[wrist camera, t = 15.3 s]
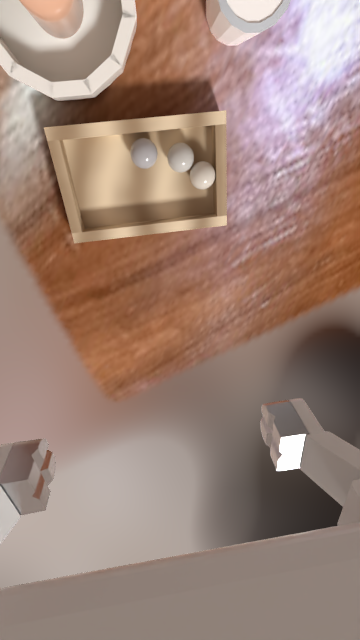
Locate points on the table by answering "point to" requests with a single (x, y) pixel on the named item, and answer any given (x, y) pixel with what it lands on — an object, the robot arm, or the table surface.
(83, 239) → the parts tray
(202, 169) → the pebble
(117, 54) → the bowl
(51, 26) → the peach cylinder
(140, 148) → the pebble
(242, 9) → the shot glass
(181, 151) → the pebble
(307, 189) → the table surface
